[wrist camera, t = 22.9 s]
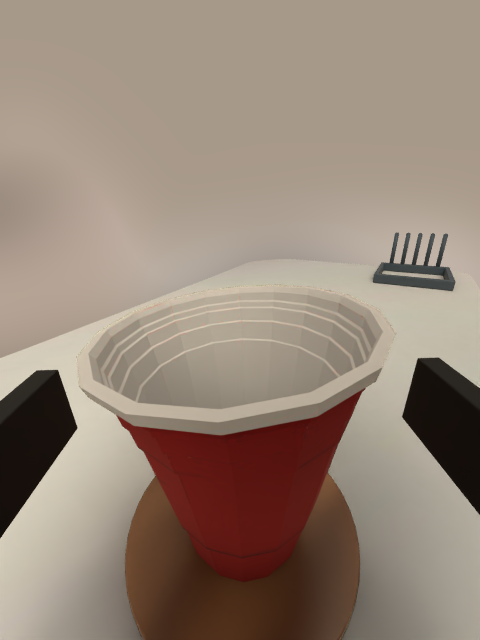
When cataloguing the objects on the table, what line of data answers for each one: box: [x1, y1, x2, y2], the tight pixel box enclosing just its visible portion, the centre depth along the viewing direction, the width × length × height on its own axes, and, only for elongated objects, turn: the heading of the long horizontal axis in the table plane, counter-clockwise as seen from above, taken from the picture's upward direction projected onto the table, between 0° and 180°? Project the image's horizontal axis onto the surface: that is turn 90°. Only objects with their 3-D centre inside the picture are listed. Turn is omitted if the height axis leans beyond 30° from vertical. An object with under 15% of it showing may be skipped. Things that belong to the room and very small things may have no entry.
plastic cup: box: [76, 285, 396, 582], centre depth 13 cm, size 11×11×12 cm
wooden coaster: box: [125, 472, 360, 640], centre depth 15 cm, size 12×12×1 cm
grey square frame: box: [373, 233, 455, 291], centre depth 59 cm, size 14×14×9 cm
